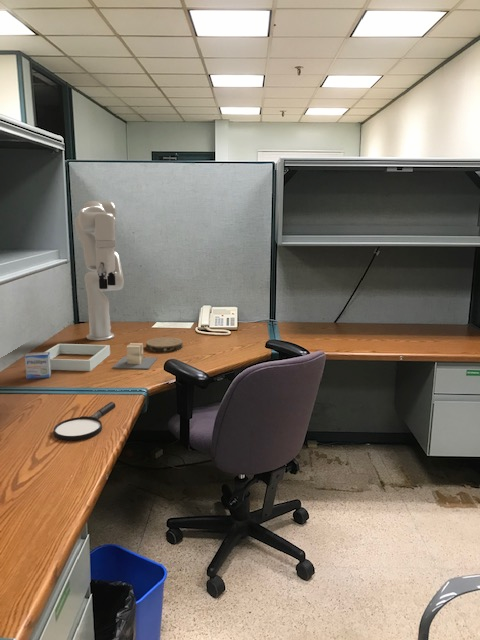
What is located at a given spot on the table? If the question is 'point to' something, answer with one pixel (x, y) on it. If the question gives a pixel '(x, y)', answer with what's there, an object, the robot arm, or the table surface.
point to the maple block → (135, 353)
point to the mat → (145, 364)
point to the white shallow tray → (78, 365)
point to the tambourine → (164, 344)
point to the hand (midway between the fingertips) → (107, 287)
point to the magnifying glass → (81, 426)
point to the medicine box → (37, 365)
